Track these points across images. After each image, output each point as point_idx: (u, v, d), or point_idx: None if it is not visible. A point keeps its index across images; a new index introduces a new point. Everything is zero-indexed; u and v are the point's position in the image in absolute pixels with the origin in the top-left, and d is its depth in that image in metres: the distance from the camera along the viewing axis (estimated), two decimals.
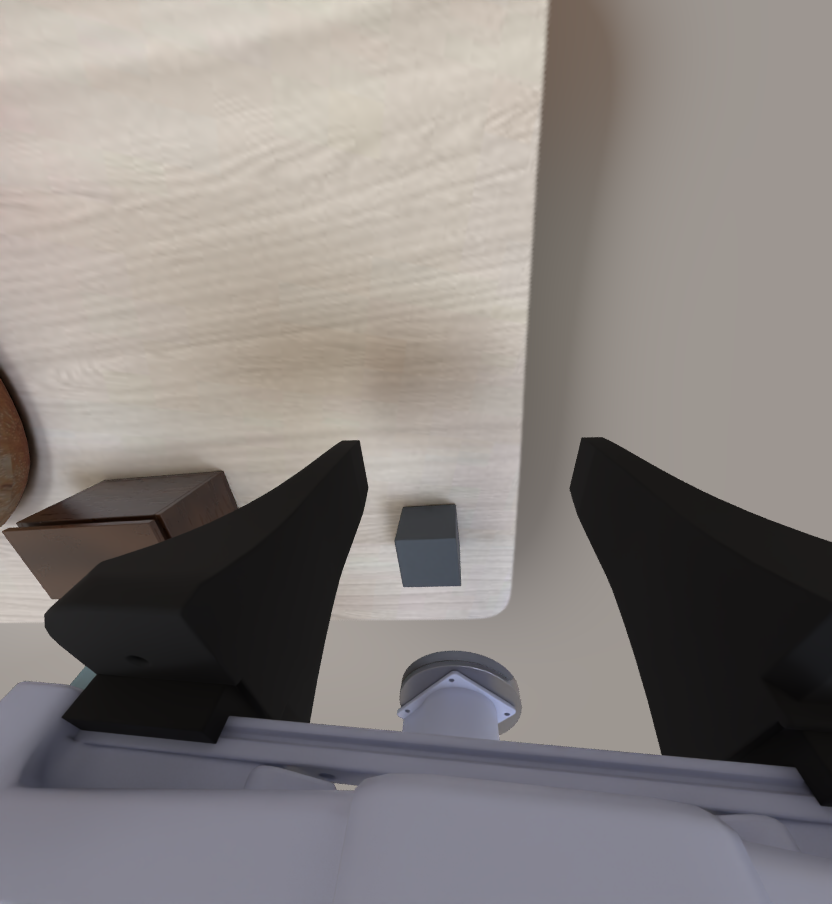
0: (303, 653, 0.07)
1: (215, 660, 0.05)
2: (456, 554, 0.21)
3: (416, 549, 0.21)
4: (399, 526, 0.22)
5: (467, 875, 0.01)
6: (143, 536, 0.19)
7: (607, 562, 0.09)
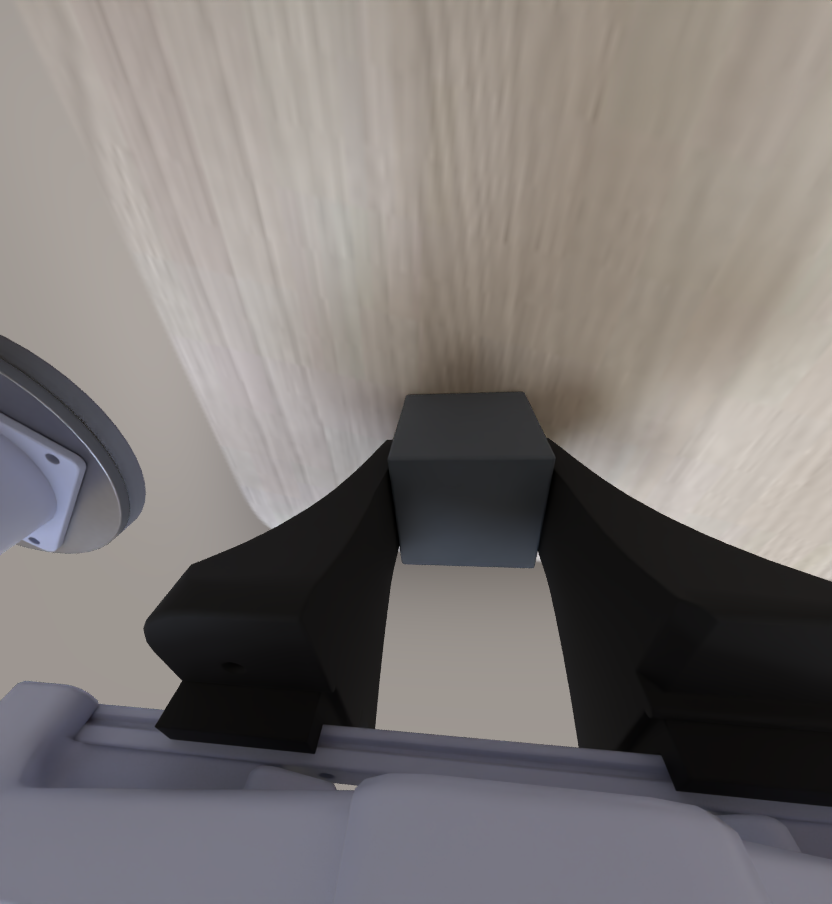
0: (371, 658, 0.07)
1: (320, 667, 0.04)
2: (490, 565, 0.10)
3: (517, 501, 0.08)
4: (541, 428, 0.09)
5: (468, 876, 0.01)
6: None
7: (546, 560, 0.09)
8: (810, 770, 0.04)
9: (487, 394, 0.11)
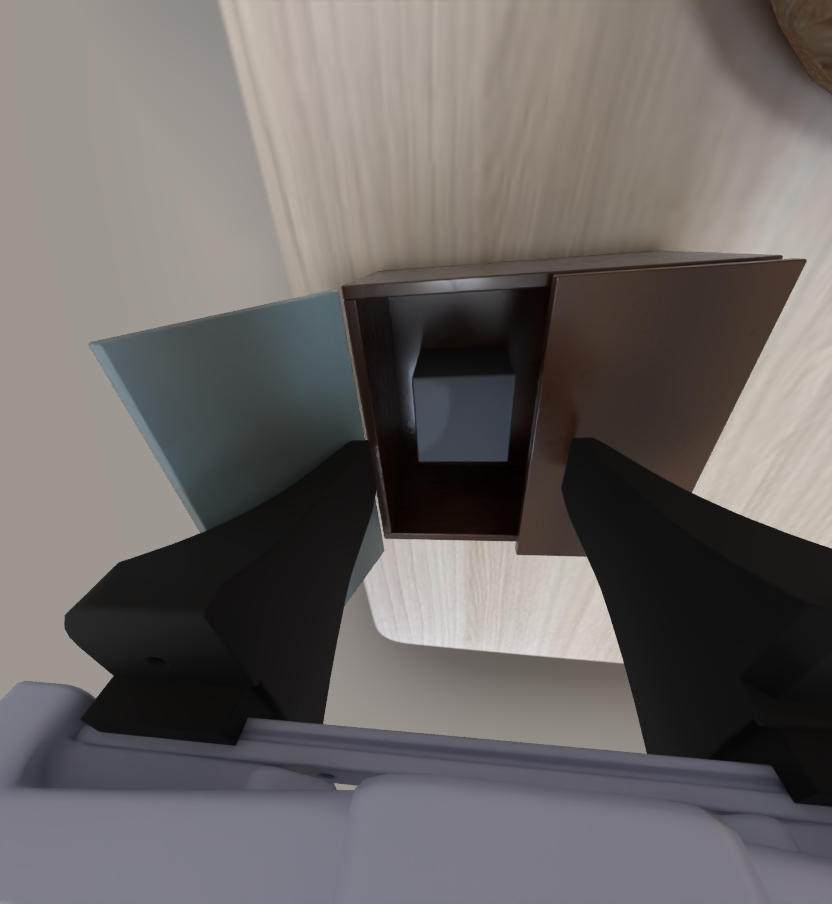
0: (317, 654, 0.07)
1: (236, 662, 0.04)
2: (478, 460, 0.14)
3: (494, 407, 0.13)
4: (510, 363, 0.14)
5: (467, 875, 0.01)
6: None
7: (596, 562, 0.09)
8: None
9: (477, 348, 0.15)
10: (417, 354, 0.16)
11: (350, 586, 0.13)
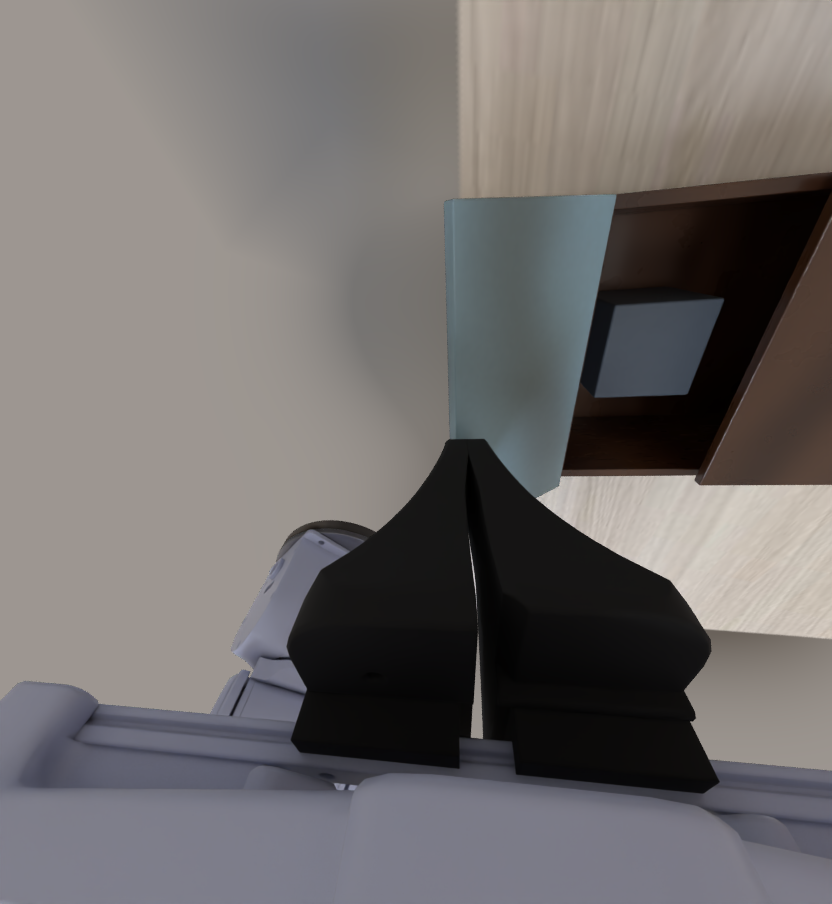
0: None
1: (473, 679, 0.04)
2: (657, 394, 0.15)
3: (691, 335, 0.13)
4: (699, 295, 0.14)
5: (467, 875, 0.01)
6: None
7: (474, 558, 0.09)
8: (632, 754, 0.04)
9: (643, 288, 0.16)
10: None
11: None
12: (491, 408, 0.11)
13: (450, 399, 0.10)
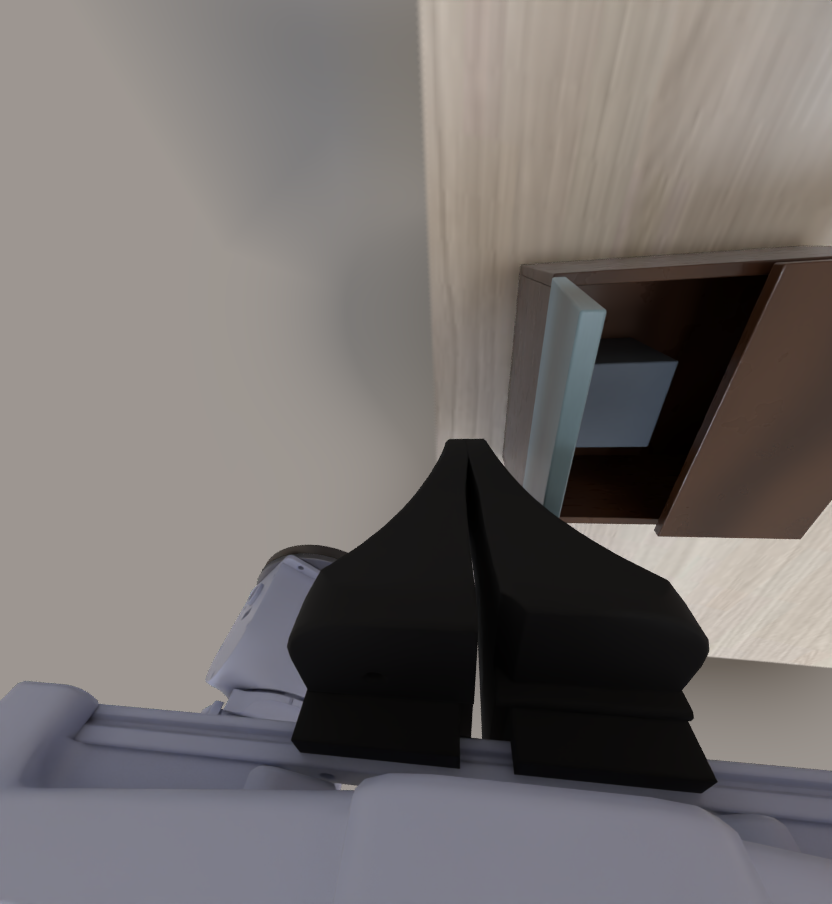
0: None
1: (474, 678, 0.04)
2: (618, 446, 0.15)
3: (648, 393, 0.14)
4: (658, 352, 0.14)
5: (467, 875, 0.01)
6: (787, 525, 0.14)
7: (473, 558, 0.09)
8: (630, 754, 0.04)
9: (607, 339, 0.16)
10: None
11: None
12: None
13: None
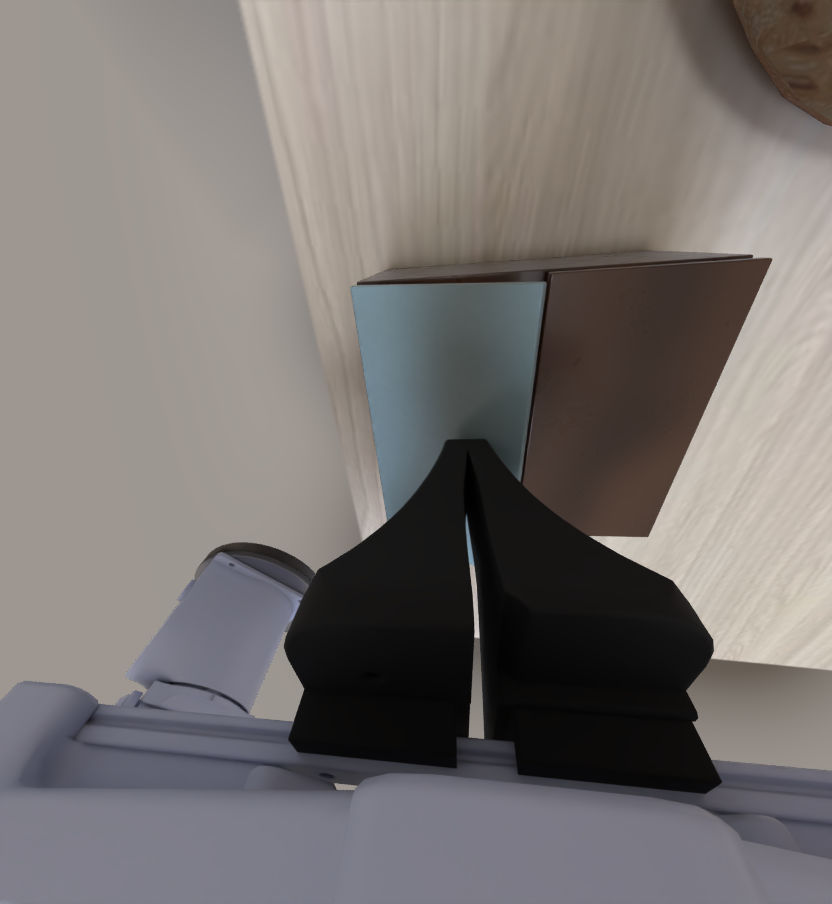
0: None
1: (470, 679, 0.04)
2: None
3: None
4: None
5: (467, 876, 0.01)
6: (632, 523, 0.14)
7: (475, 558, 0.09)
8: (634, 754, 0.04)
9: None
10: None
11: None
12: None
13: (522, 456, 0.10)
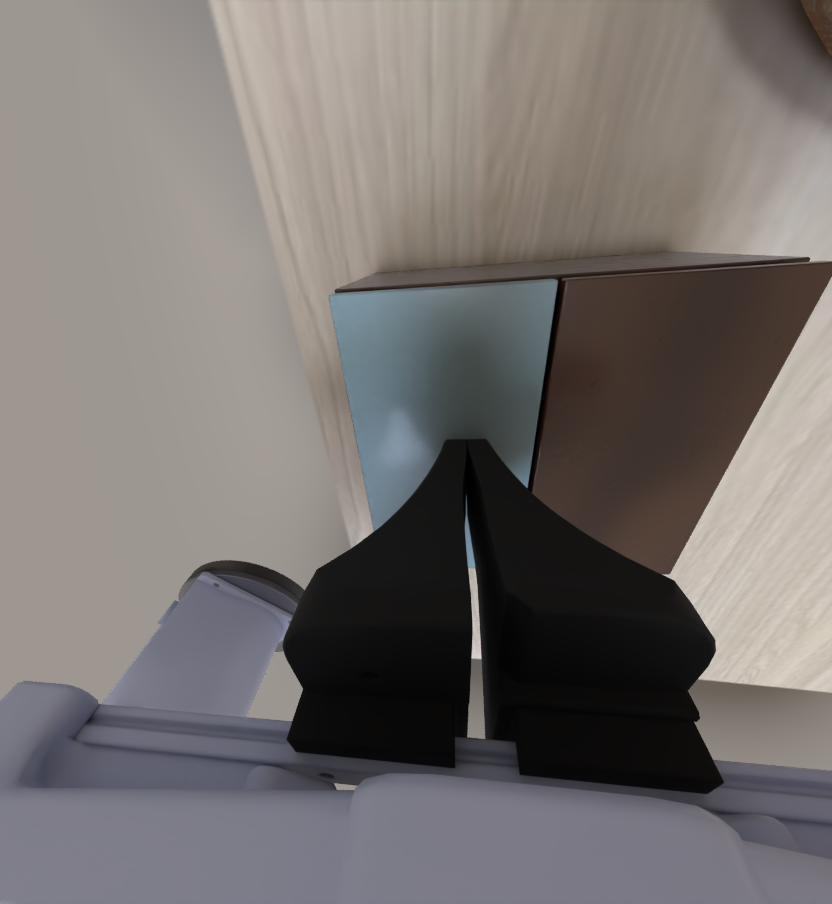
0: None
1: (468, 678, 0.04)
2: None
3: None
4: None
5: (467, 876, 0.01)
6: (651, 560, 0.12)
7: (476, 558, 0.09)
8: (636, 754, 0.04)
9: None
10: None
11: None
12: None
13: (532, 448, 0.10)
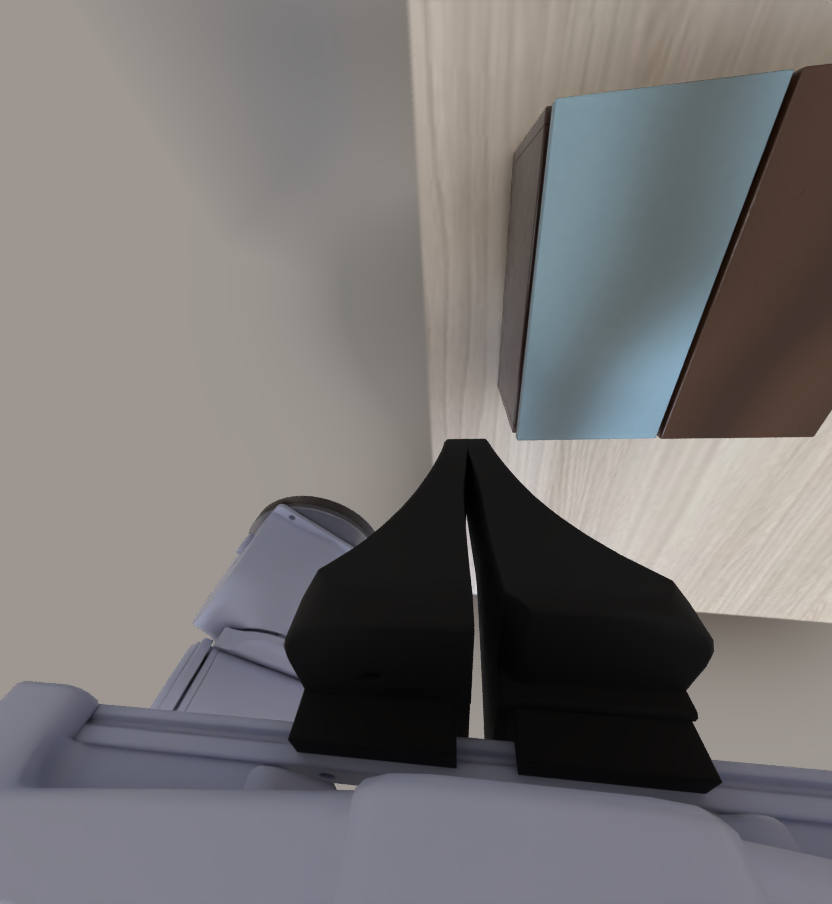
0: None
1: (470, 679, 0.04)
2: None
3: None
4: None
5: (467, 874, 0.01)
6: (800, 419, 0.13)
7: (475, 558, 0.09)
8: (634, 754, 0.04)
9: None
10: None
11: None
12: None
13: (711, 284, 0.11)
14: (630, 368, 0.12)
